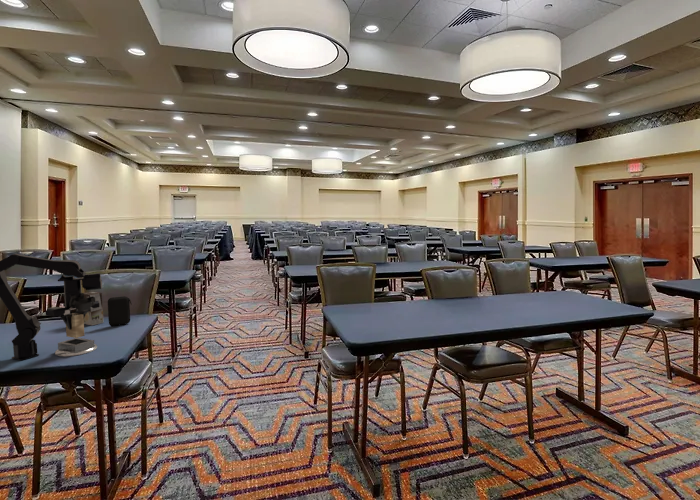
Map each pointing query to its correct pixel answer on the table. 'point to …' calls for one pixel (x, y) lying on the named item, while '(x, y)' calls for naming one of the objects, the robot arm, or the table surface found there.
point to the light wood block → (76, 326)
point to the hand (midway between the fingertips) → (75, 328)
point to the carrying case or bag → (119, 310)
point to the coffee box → (94, 310)
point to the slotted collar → (75, 347)
